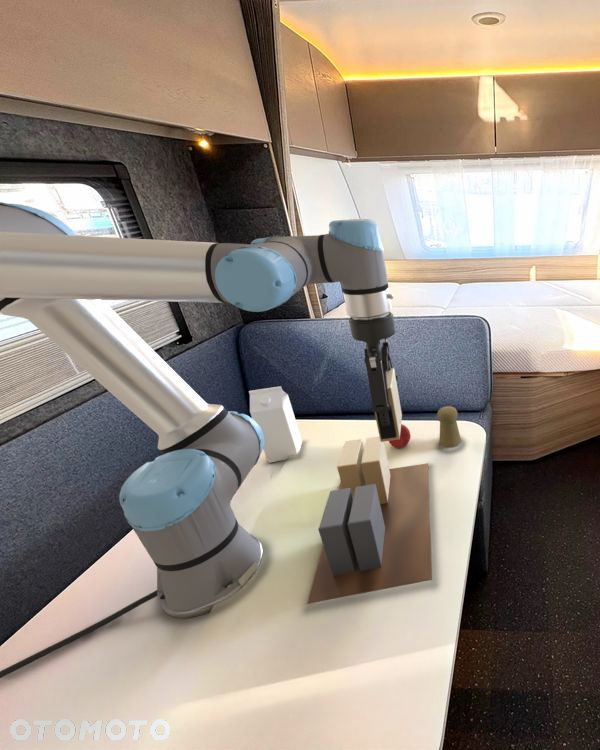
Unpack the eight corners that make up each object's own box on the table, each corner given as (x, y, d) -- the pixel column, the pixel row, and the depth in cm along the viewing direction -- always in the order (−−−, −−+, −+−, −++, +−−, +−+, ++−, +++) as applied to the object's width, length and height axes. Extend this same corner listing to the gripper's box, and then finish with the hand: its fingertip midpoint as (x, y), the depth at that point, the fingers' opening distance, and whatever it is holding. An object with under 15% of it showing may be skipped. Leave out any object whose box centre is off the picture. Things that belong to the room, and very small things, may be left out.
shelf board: (308, 608, 62) (306, 603, 62) (343, 479, 91) (342, 475, 90) (432, 584, 66) (432, 579, 65) (428, 467, 94) (428, 463, 94)
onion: (416, 445, 103) (412, 419, 99) (401, 456, 98) (396, 430, 95) (401, 439, 106) (396, 413, 102) (385, 450, 101) (380, 424, 98)
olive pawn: (458, 452, 99) (454, 416, 94) (436, 450, 100) (431, 414, 95) (464, 439, 104) (461, 404, 100) (443, 437, 105) (439, 402, 101)
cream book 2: (380, 442, 73) (370, 390, 68) (384, 417, 81) (375, 369, 76) (399, 439, 73) (390, 388, 69) (402, 415, 82) (394, 368, 77)
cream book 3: (370, 505, 81) (360, 463, 77) (374, 477, 89) (366, 438, 85) (388, 502, 82) (379, 461, 77) (390, 475, 90) (383, 435, 85)
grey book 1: (333, 576, 66) (318, 529, 62) (342, 534, 74) (329, 490, 70) (354, 572, 67) (341, 525, 62) (361, 531, 75) (350, 487, 70)
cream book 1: (348, 509, 81) (337, 467, 76) (354, 480, 89) (344, 441, 84) (366, 506, 81) (355, 464, 76) (370, 478, 89) (362, 438, 85)
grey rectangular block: (360, 571, 67) (347, 524, 62) (366, 530, 75) (355, 486, 70) (381, 567, 68) (370, 520, 63) (385, 527, 76) (375, 483, 71)
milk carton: (274, 447, 104) (252, 385, 96) (302, 442, 106) (283, 380, 98) (268, 463, 98) (244, 397, 90) (298, 457, 99) (278, 392, 91)
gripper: (387, 331, 58) (408, 453, 68) (396, 298, 78) (411, 396, 87) (335, 336, 57) (364, 459, 66) (358, 301, 76) (377, 400, 86)
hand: (391, 423), depth 77 cm, fingers closed on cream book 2, 9 cm apart
